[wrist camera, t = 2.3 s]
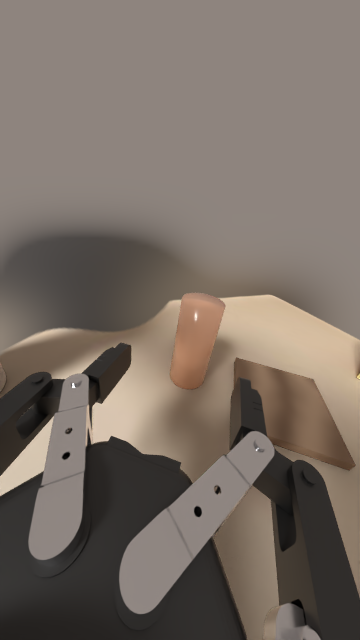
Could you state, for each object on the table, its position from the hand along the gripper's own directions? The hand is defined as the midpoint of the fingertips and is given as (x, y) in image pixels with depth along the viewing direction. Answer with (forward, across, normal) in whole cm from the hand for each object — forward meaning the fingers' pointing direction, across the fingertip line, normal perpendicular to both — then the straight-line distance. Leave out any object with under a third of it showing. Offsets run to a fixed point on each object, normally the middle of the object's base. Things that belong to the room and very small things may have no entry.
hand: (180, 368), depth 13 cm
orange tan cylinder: (+12, 0, +12) cm, 17 cm away
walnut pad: (+12, -14, +12) cm, 22 cm away
